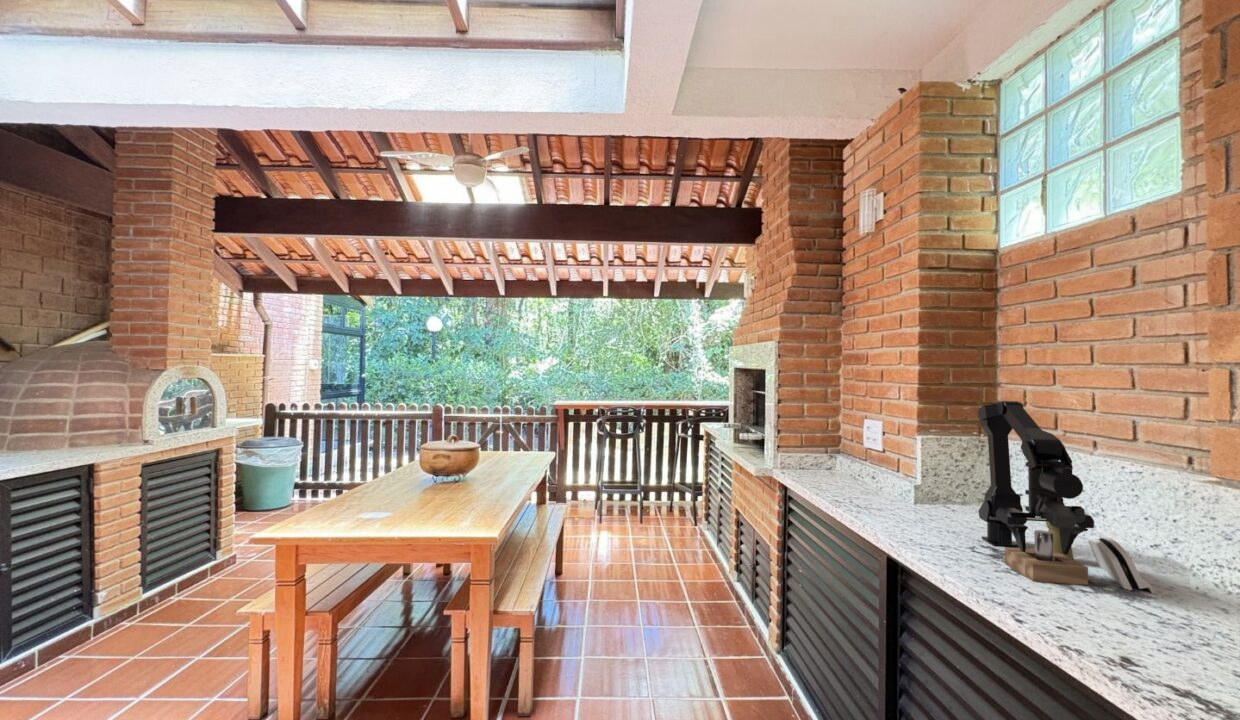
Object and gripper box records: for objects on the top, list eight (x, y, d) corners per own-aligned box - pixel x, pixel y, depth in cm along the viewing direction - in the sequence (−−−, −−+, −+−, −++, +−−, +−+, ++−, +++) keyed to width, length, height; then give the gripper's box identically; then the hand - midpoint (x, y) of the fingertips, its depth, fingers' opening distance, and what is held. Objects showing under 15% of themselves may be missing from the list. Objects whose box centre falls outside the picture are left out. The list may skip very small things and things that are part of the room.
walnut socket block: (1004, 563, 133) (1004, 547, 133) (1054, 566, 131) (1054, 550, 131) (1033, 581, 122) (1032, 564, 122) (1088, 584, 120) (1087, 567, 120)
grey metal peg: (1031, 570, 129) (1031, 529, 129) (1047, 571, 128) (1046, 530, 128) (1040, 575, 125) (1040, 534, 125) (1056, 576, 125) (1056, 535, 125)
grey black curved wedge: (1155, 594, 115) (1134, 549, 117) (1129, 597, 117) (1109, 553, 119) (1124, 568, 130) (1106, 528, 132) (1100, 571, 132) (1083, 532, 134)
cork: (1047, 561, 135) (1047, 518, 135) (1041, 554, 140) (1041, 513, 140) (1077, 565, 132) (1077, 522, 132) (1070, 558, 137) (1069, 516, 137)
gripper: (1021, 495, 120) (1021, 562, 120) (1112, 498, 118) (1113, 567, 117) (994, 484, 131) (994, 546, 131) (1077, 487, 129) (1077, 550, 128)
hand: (1043, 552), depth 127 cm, fingers open, 9 cm apart
